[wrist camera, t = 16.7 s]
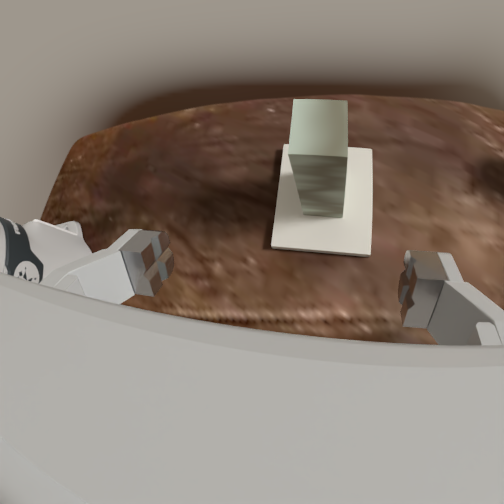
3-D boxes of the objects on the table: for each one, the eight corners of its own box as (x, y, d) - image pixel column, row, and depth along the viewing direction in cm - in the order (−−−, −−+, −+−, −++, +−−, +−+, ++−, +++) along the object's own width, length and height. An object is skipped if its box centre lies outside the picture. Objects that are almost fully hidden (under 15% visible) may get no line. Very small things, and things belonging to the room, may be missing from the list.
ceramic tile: (272, 248, 32) (270, 246, 31) (285, 148, 35) (283, 144, 34) (369, 257, 30) (370, 254, 29) (370, 153, 32) (371, 149, 31)
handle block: (303, 215, 31) (287, 154, 20) (307, 171, 32) (293, 99, 21) (342, 217, 30) (347, 157, 19) (344, 174, 31) (347, 100, 20)
